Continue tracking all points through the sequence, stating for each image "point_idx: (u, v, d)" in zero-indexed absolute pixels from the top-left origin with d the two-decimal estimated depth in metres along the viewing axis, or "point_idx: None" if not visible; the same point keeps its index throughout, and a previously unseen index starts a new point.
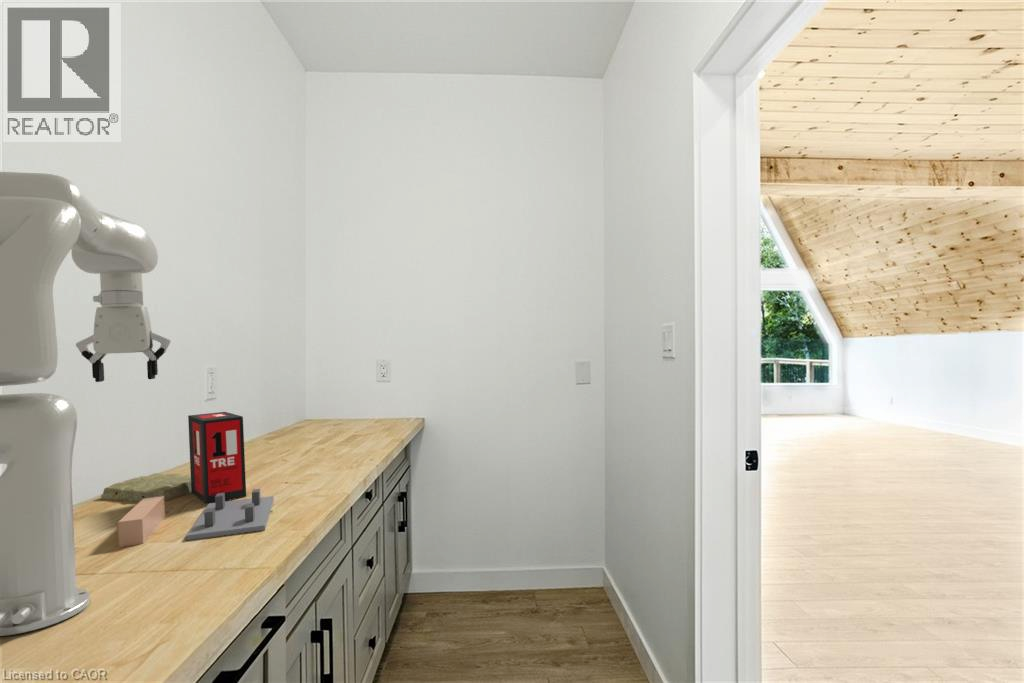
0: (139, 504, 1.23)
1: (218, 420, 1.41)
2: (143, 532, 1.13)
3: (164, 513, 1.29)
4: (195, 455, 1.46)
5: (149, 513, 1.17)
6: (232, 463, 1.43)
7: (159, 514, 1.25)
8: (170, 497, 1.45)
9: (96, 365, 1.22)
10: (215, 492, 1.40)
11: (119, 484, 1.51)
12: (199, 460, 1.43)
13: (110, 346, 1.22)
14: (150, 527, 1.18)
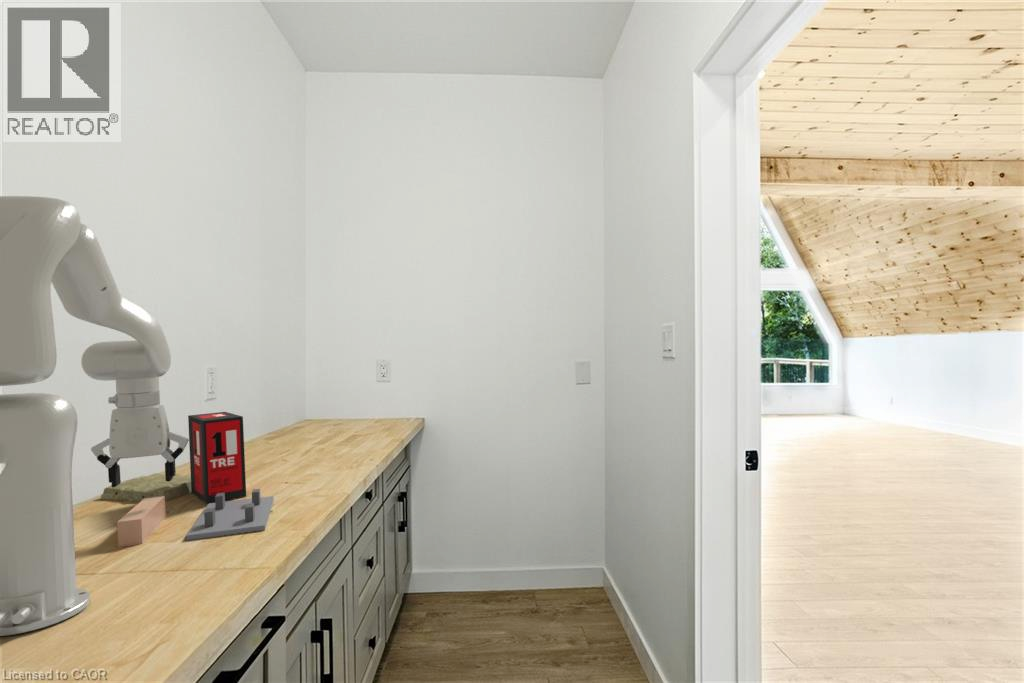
0: (139, 504, 1.23)
1: (218, 420, 1.41)
2: (142, 532, 1.13)
3: (165, 513, 1.29)
4: (195, 455, 1.46)
5: (149, 513, 1.17)
6: (232, 463, 1.43)
7: (159, 514, 1.25)
8: (170, 497, 1.45)
9: (112, 470, 1.18)
10: (215, 492, 1.40)
11: (119, 484, 1.51)
12: (199, 460, 1.43)
13: (126, 451, 1.17)
14: (150, 527, 1.18)
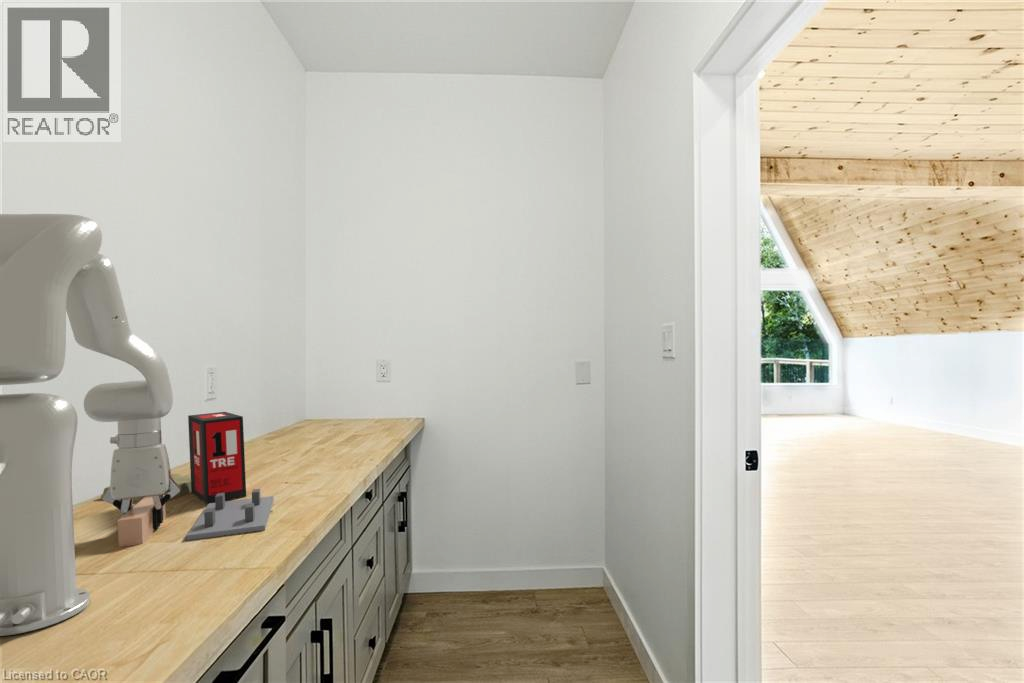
0: (140, 503, 1.23)
1: (218, 420, 1.41)
2: (142, 531, 1.13)
3: (165, 512, 1.29)
4: (195, 455, 1.46)
5: (149, 512, 1.17)
6: (232, 463, 1.43)
7: None
8: None
9: None
10: (215, 492, 1.40)
11: None
12: (199, 460, 1.43)
13: (127, 492, 1.17)
14: (150, 526, 1.18)
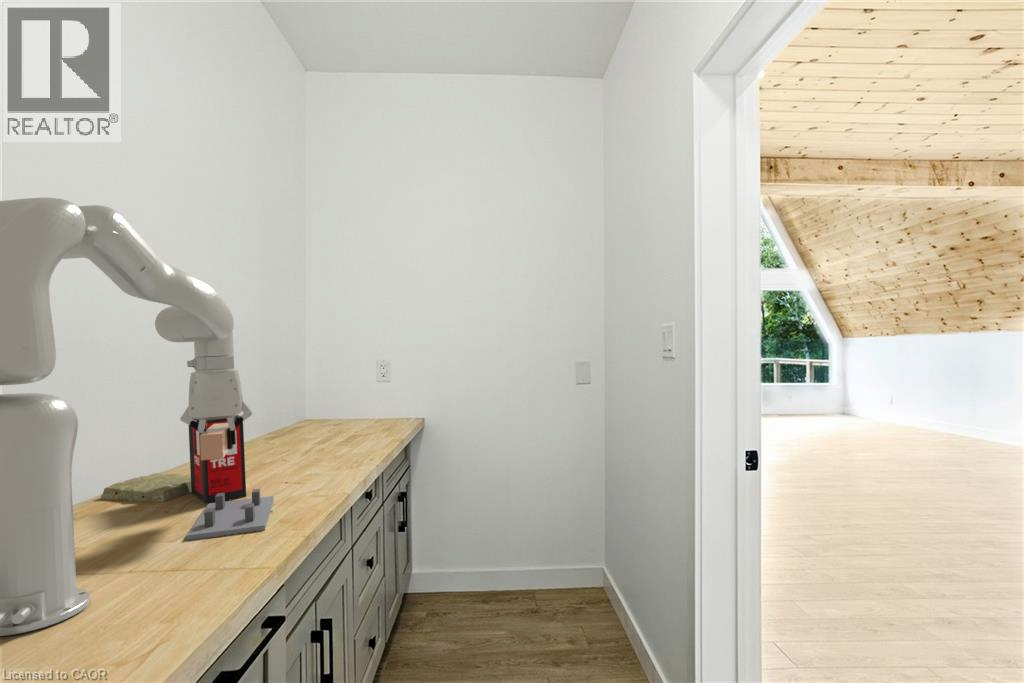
0: (212, 426, 1.28)
1: (218, 420, 1.41)
2: (222, 446, 1.18)
3: None
4: (195, 455, 1.46)
5: (225, 431, 1.23)
6: (232, 463, 1.43)
7: None
8: (170, 497, 1.45)
9: None
10: (215, 492, 1.40)
11: (119, 484, 1.51)
12: (199, 460, 1.43)
13: (204, 412, 1.22)
14: (226, 445, 1.23)
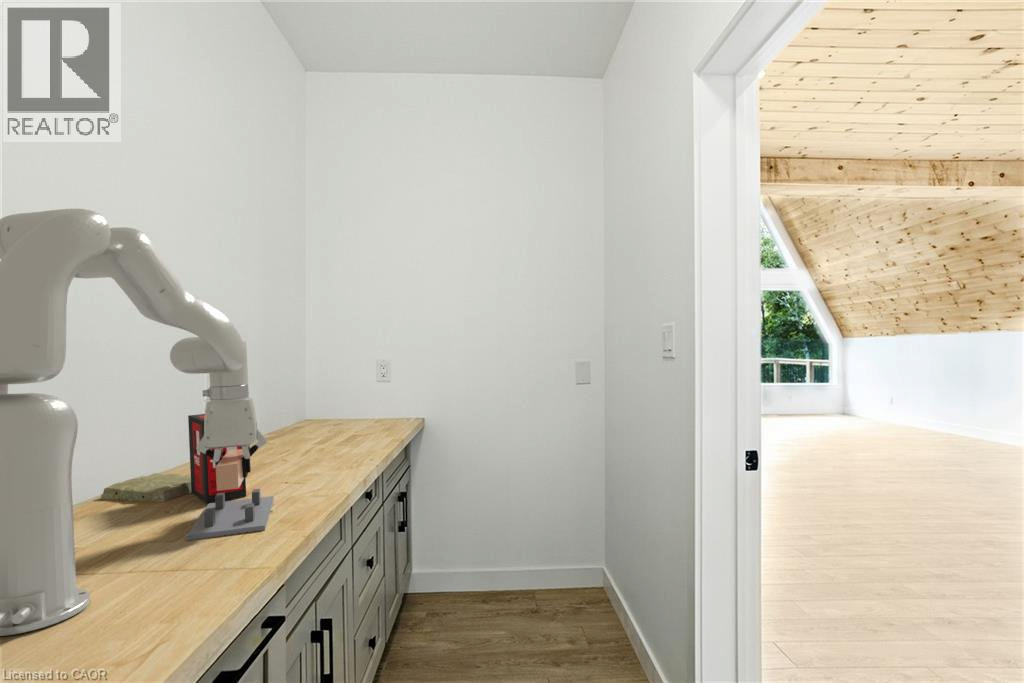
0: (227, 454, 1.29)
1: None
2: (238, 476, 1.19)
3: None
4: (195, 455, 1.46)
5: (240, 460, 1.24)
6: None
7: None
8: (170, 497, 1.45)
9: None
10: (215, 492, 1.40)
11: (119, 484, 1.51)
12: (199, 460, 1.43)
13: (220, 441, 1.23)
14: (241, 474, 1.24)
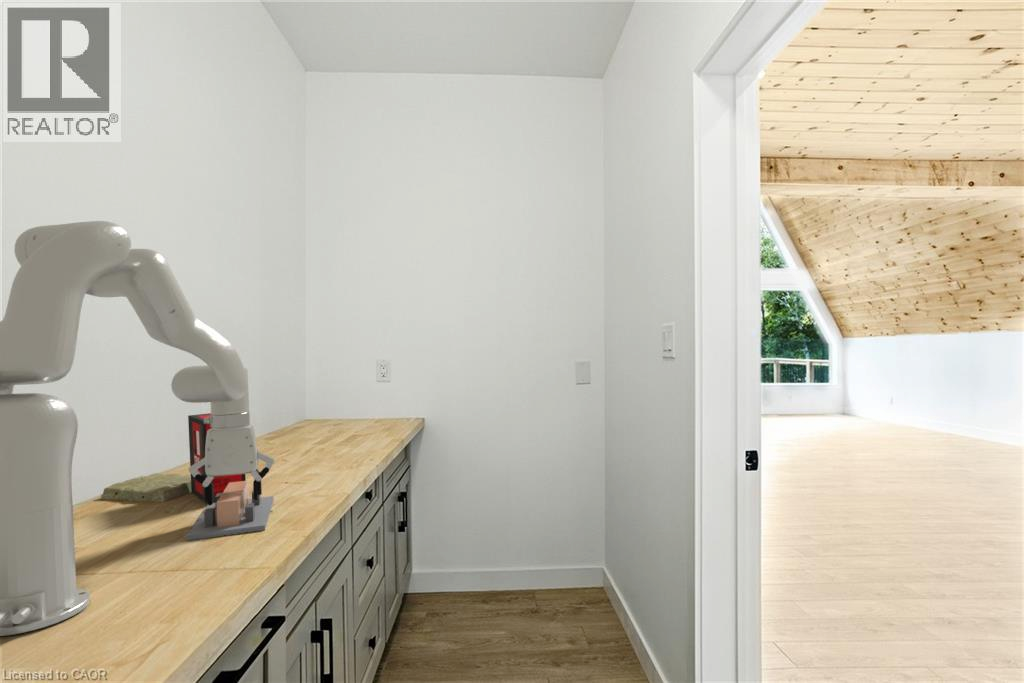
0: (228, 487, 1.29)
1: None
2: (238, 512, 1.19)
3: (248, 497, 1.35)
4: (195, 455, 1.46)
5: (241, 495, 1.24)
6: None
7: (246, 497, 1.31)
8: (170, 497, 1.45)
9: (209, 489, 1.24)
10: (215, 492, 1.40)
11: (119, 484, 1.51)
12: (199, 460, 1.43)
13: (221, 470, 1.23)
14: (242, 508, 1.24)
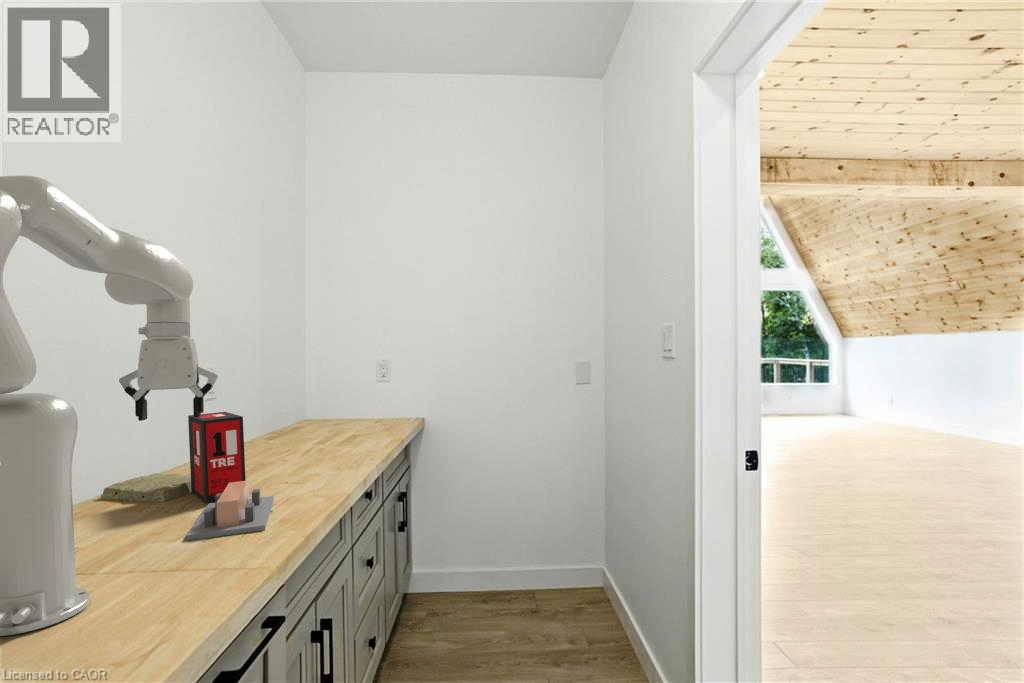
0: (228, 487, 1.29)
1: (218, 420, 1.41)
2: (238, 512, 1.19)
3: (248, 497, 1.35)
4: (195, 455, 1.46)
5: (241, 495, 1.24)
6: (232, 463, 1.43)
7: (246, 497, 1.31)
8: (170, 497, 1.45)
9: (140, 402, 1.13)
10: (215, 492, 1.40)
11: (119, 484, 1.51)
12: (199, 460, 1.43)
13: (155, 382, 1.13)
14: (242, 508, 1.24)
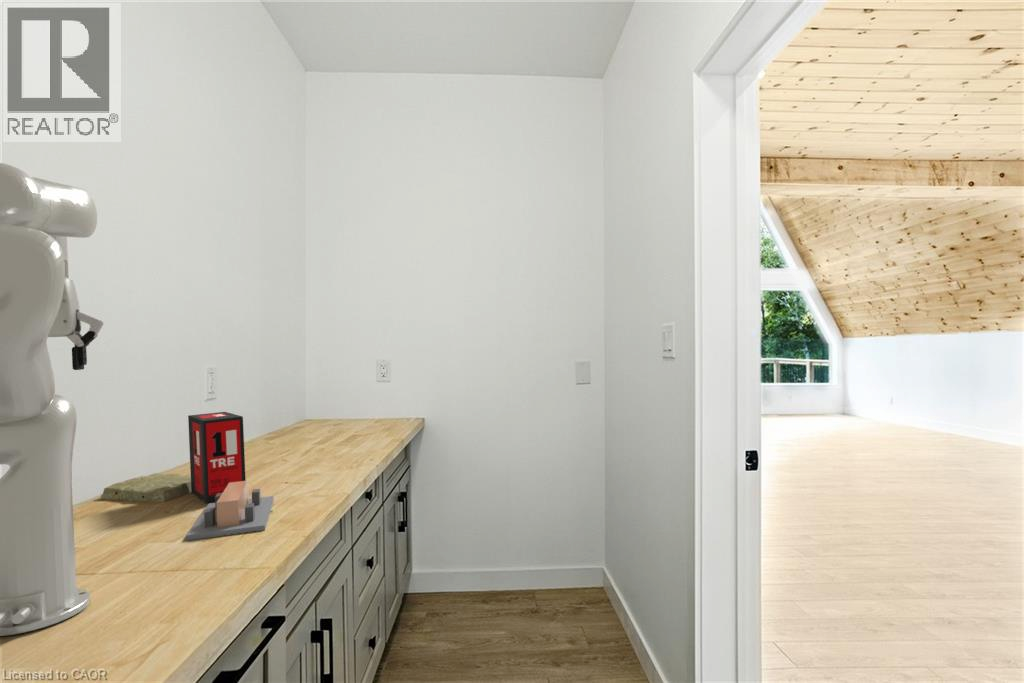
0: (228, 487, 1.29)
1: (218, 420, 1.41)
2: (238, 512, 1.19)
3: (248, 497, 1.35)
4: (195, 455, 1.46)
5: (241, 495, 1.24)
6: (232, 463, 1.43)
7: (246, 497, 1.31)
8: (170, 497, 1.45)
9: None
10: (215, 492, 1.40)
11: (119, 484, 1.51)
12: (199, 460, 1.43)
13: None
14: (242, 508, 1.24)
